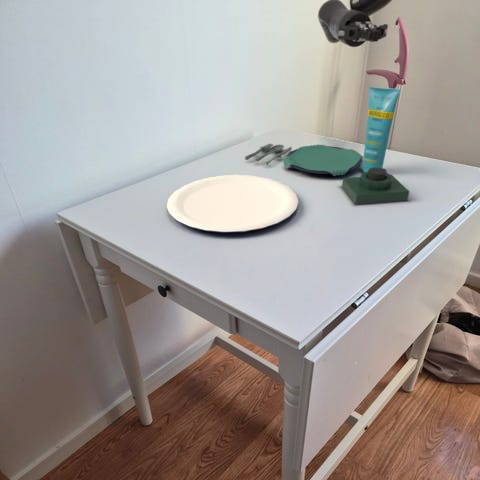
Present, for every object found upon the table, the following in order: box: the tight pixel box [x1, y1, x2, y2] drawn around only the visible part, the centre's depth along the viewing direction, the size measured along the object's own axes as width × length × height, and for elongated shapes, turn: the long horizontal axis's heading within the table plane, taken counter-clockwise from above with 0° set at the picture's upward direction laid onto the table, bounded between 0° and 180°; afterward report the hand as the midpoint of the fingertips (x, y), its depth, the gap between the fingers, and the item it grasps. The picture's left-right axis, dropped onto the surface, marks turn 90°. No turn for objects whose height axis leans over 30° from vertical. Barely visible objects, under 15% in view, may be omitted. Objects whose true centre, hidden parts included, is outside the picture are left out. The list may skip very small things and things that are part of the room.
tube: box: [361, 86, 401, 173], centre depth 102 cm, size 7×5×19 cm, turn 54°
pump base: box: [341, 171, 410, 205], centre depth 97 cm, size 12×10×4 cm
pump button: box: [367, 168, 388, 181], centre depth 95 cm, size 4×4×2 cm
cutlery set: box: [244, 143, 364, 177], centre depth 114 cm, size 20×30×2 cm, turn 58°
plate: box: [166, 174, 299, 234], centre depth 94 cm, size 29×29×2 cm
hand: (375, 36), depth 98 cm, fingers closed
